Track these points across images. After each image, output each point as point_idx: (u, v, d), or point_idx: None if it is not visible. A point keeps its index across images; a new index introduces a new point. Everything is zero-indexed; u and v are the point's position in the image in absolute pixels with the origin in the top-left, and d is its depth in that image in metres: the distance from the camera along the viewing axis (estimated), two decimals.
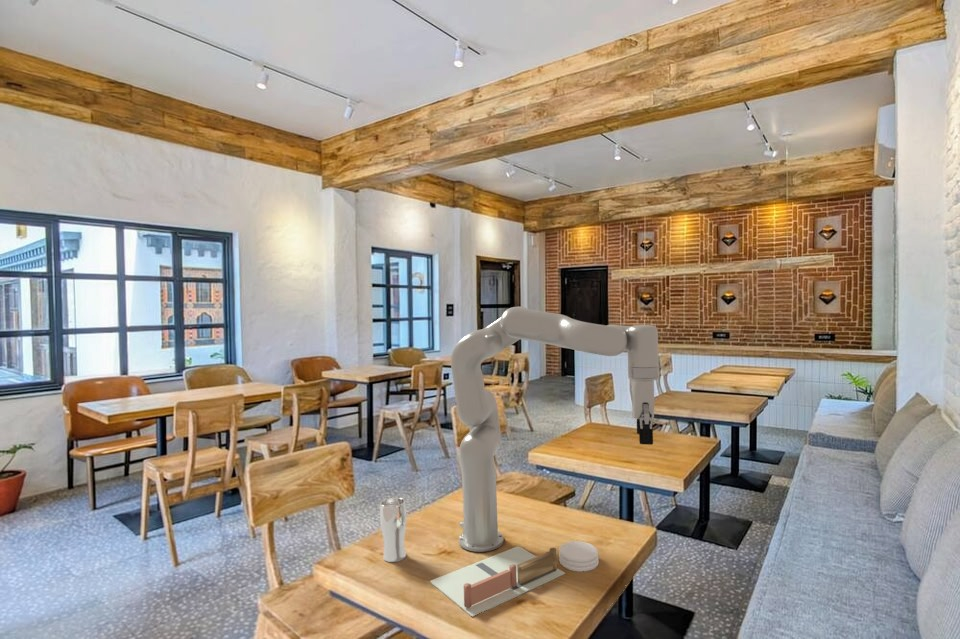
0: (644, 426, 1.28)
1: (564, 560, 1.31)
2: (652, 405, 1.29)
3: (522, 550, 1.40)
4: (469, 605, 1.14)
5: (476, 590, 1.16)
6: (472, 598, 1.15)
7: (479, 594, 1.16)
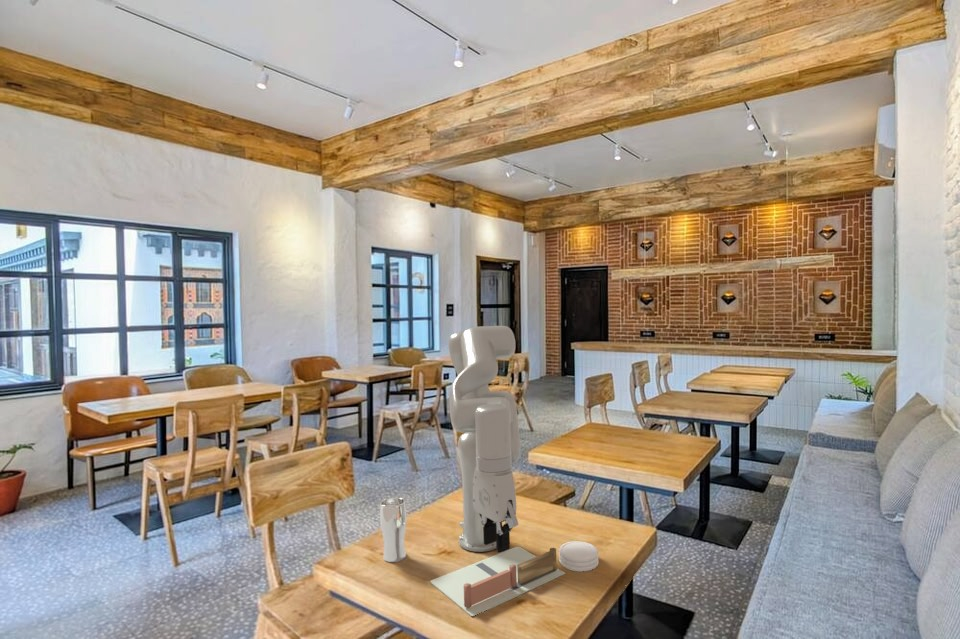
0: (506, 531, 1.08)
1: (564, 560, 1.31)
2: (515, 501, 1.09)
3: (522, 550, 1.40)
4: (469, 605, 1.14)
5: (476, 590, 1.16)
6: (472, 598, 1.15)
7: (479, 594, 1.16)
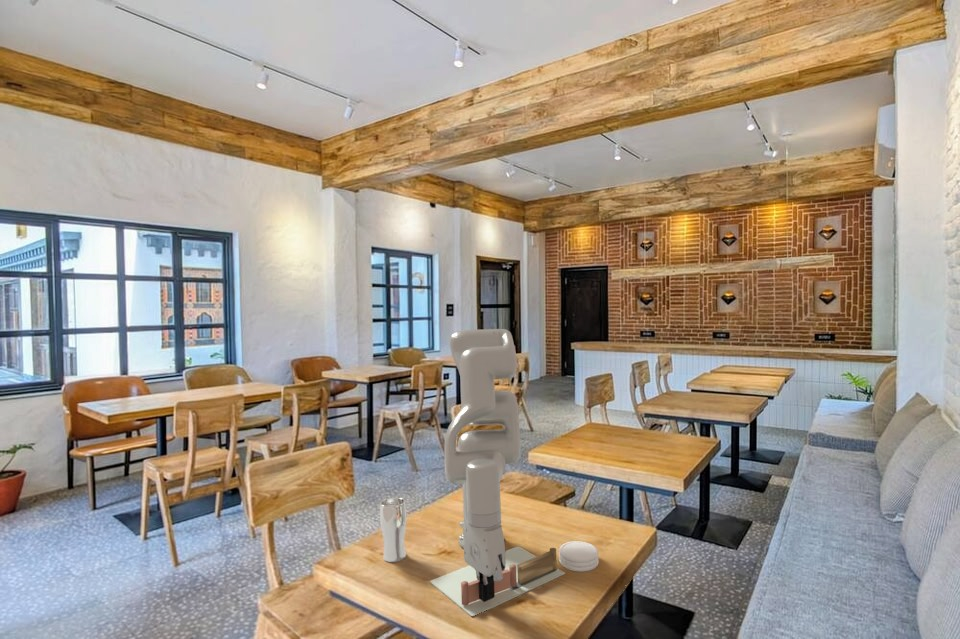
0: (490, 581, 1.13)
1: (564, 560, 1.31)
2: (504, 555, 1.12)
3: (522, 550, 1.40)
4: (466, 603, 1.15)
5: (473, 589, 1.16)
6: (469, 596, 1.16)
7: (477, 592, 1.17)
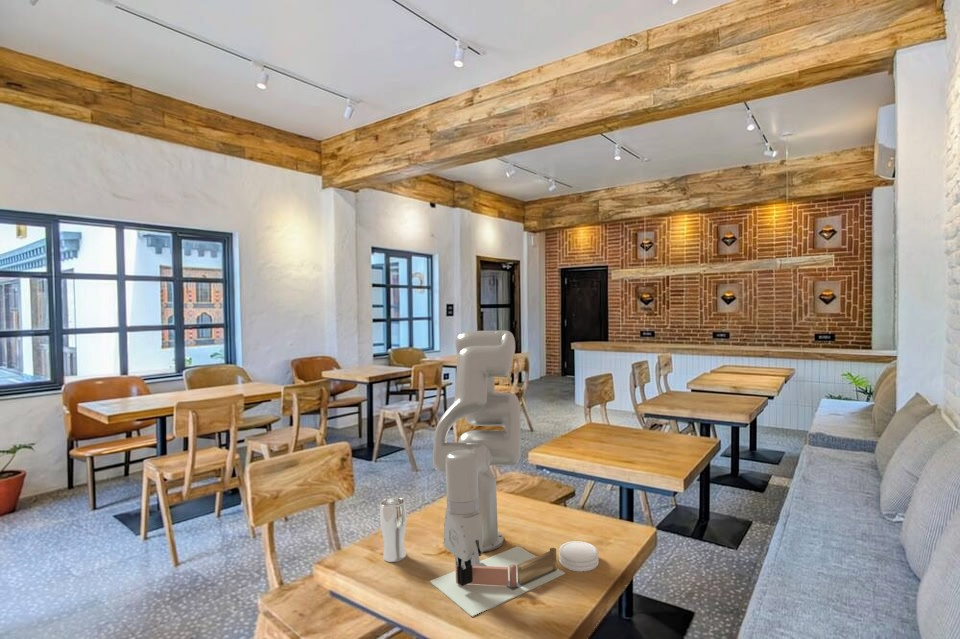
0: (468, 566, 1.19)
1: (564, 560, 1.31)
2: (481, 541, 1.19)
3: (522, 550, 1.40)
4: None
5: None
6: None
7: None
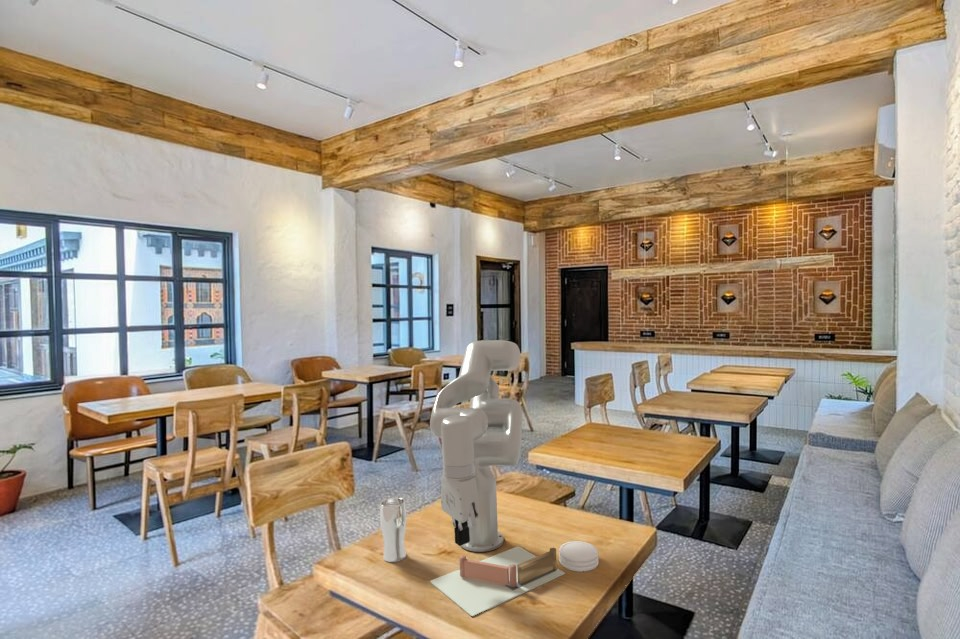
0: (465, 527, 1.22)
1: (564, 560, 1.31)
2: (478, 503, 1.21)
3: (522, 550, 1.40)
4: (461, 575, 1.27)
5: (469, 566, 1.26)
6: (465, 571, 1.27)
7: (472, 571, 1.26)
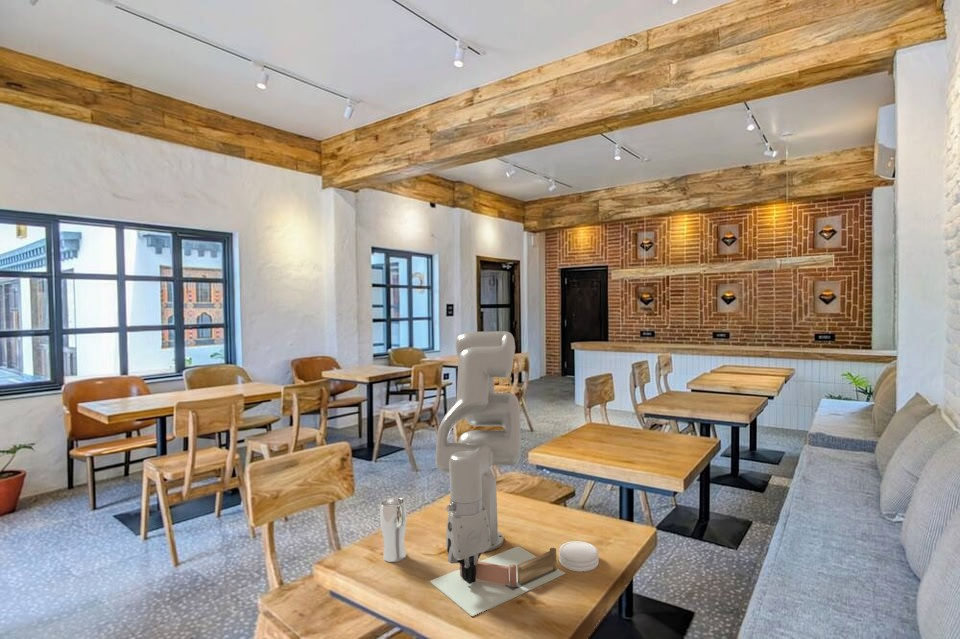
0: None
1: (564, 560, 1.31)
2: None
3: (522, 550, 1.40)
4: (461, 575, 1.27)
5: None
6: None
7: None
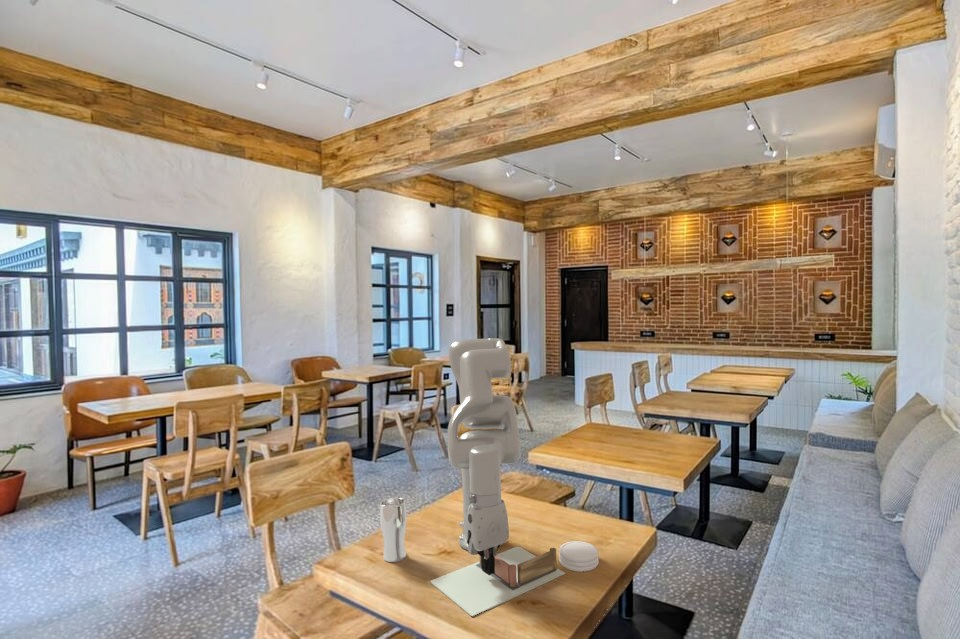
0: None
1: (564, 560, 1.31)
2: None
3: (522, 550, 1.40)
4: (480, 561, 1.33)
5: None
6: None
7: None
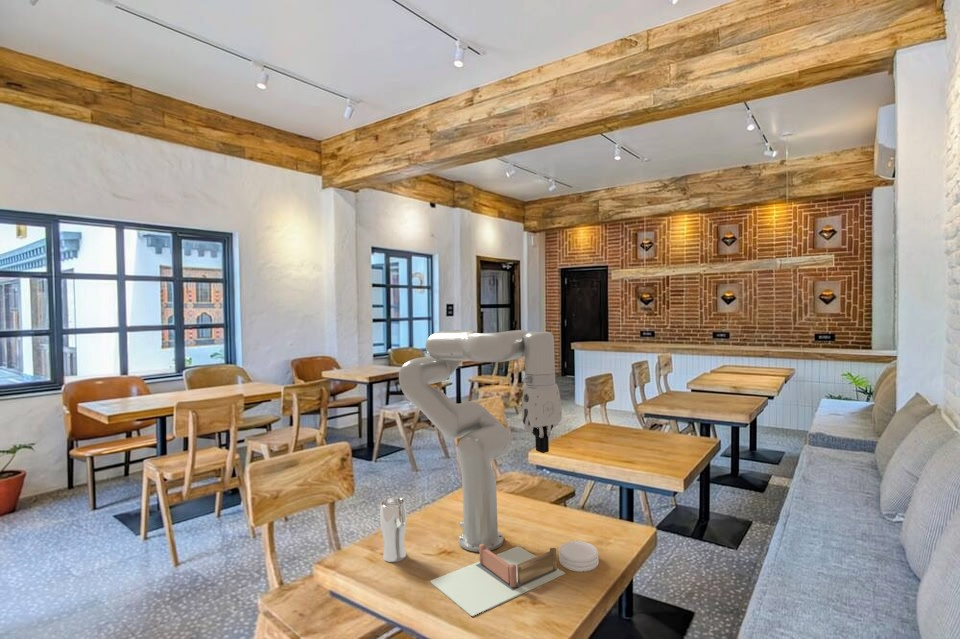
0: None
1: (564, 560, 1.31)
2: None
3: (522, 550, 1.40)
4: (480, 561, 1.33)
5: (485, 555, 1.31)
6: (483, 559, 1.32)
7: (487, 561, 1.31)
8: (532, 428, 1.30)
